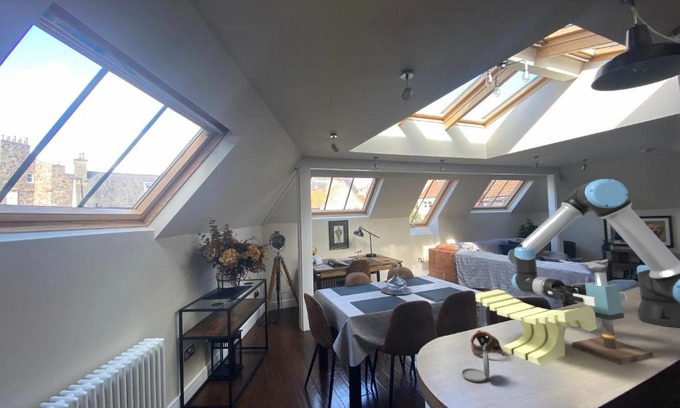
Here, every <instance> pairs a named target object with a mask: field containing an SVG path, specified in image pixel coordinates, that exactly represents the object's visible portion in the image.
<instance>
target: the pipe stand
mask: <svg viewBox="0 0 680 408" xmlns="http://www.w3.org/2000/svg"><path fill="white" fill-rule="evenodd" d="M593 275H594V282H595V284H596V285H601V286H606V285H607V283H608V279H607V273H606V272H598V271H597V272H593ZM599 319H600V327H601V336H597V337H593V338H592V337H591V338H587V339H582V340H578V341H572V342H571V345H572V348H575V349H577V350H580V351H583V352H586V353H588V354H591V355H593V356H597V357H599V358H602V359H604V360H607V361H610V362H613V363H615V364H618V365H624V364H629V363H633V362H637V361H642V360H645V359H650V358H653V357H654V354H653V351H651V350H647V349H644V348H640V347H637V346H634V345H630V344H628V343H624V342H623V341H622V342H621V341H617V340H616V335H615V330H614V323H613V321H614V320H606V319H602V318H599Z"/></svg>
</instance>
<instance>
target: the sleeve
mask: <svg viewBox="0 0 680 408" xmlns="http://www.w3.org/2000/svg"><path fill="white" fill-rule="evenodd" d="M584 285H585V286H584V287H586V294H587V295H586V296H590V297H595V298H596V305H597V306H591V305H589V306H591V307H592V308H593V310H594V312H597V313H601V314H606V315H614V314H619V313H623V308H622V301H621V299H620V292H621V291H620V287H619V284H616V283H608V282H607V285H606V286H601V285H596V284H595V281H594V282H588V283H585V284H584Z"/></svg>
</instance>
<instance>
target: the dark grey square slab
mask: <svg viewBox="0 0 680 408" xmlns="http://www.w3.org/2000/svg"><path fill="white" fill-rule="evenodd" d="M594 313H595V318H598V319H600V318H602V319H606V320H613V321H615V320H621V319H625V313H624V312H622V313H619V314H614V315H606V314H601V313H597V312H594Z"/></svg>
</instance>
